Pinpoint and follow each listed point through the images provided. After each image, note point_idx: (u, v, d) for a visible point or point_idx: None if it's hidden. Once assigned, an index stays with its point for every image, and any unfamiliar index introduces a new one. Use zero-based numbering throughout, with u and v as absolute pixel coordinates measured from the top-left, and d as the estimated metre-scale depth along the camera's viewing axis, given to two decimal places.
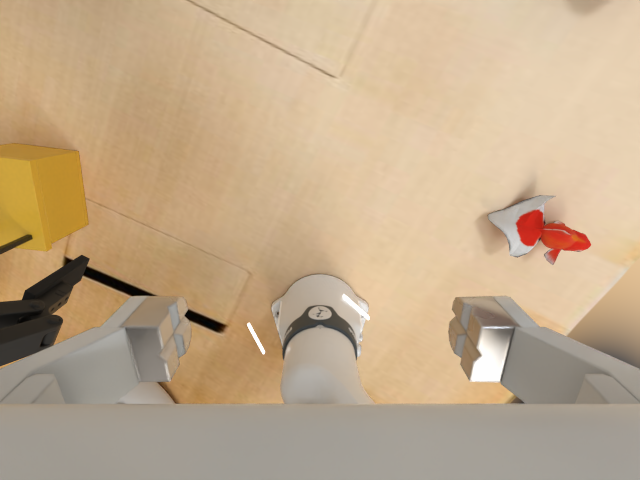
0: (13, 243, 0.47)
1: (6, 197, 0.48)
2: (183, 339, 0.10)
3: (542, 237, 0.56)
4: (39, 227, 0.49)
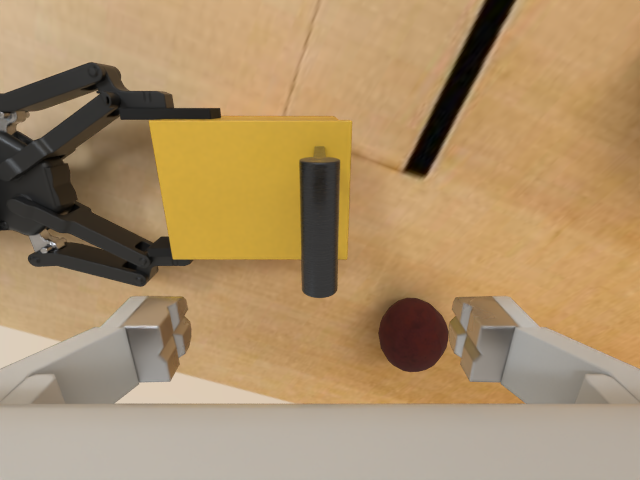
0: (315, 153, 0.20)
1: (238, 182, 0.24)
2: (183, 339, 0.10)
3: None
4: (294, 125, 0.23)
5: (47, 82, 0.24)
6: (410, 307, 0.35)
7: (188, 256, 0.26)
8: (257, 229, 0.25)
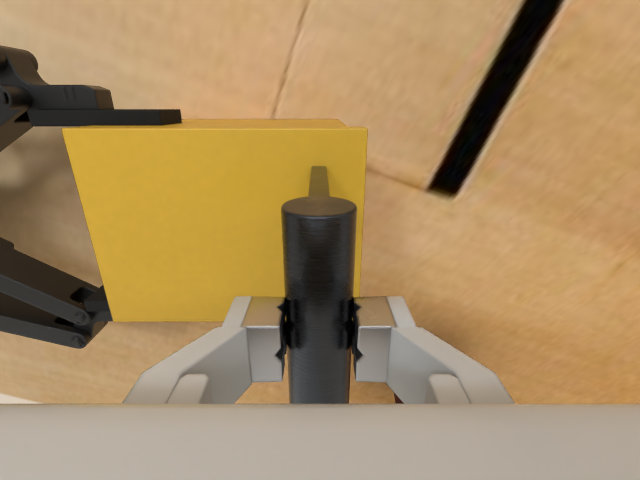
0: None
1: (201, 217, 0.16)
2: (285, 339, 0.10)
3: None
4: (281, 135, 0.15)
5: None
6: None
7: (134, 317, 0.19)
8: (230, 282, 0.18)
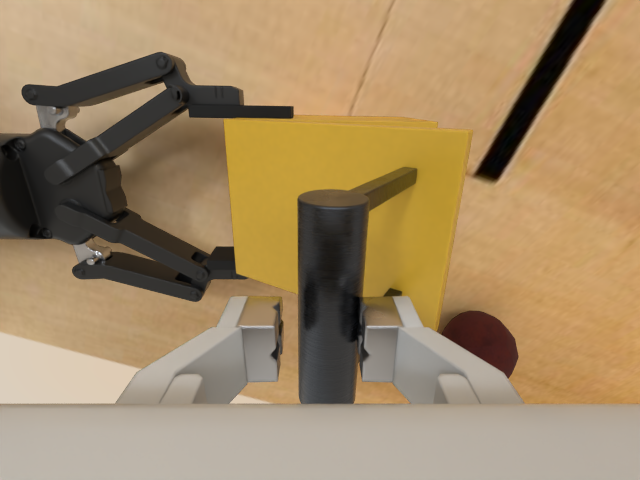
0: (377, 180, 0.13)
1: None
2: (281, 339, 0.10)
3: None
4: (377, 134, 0.15)
5: (108, 74, 0.21)
6: (479, 322, 0.32)
7: (249, 274, 0.23)
8: None
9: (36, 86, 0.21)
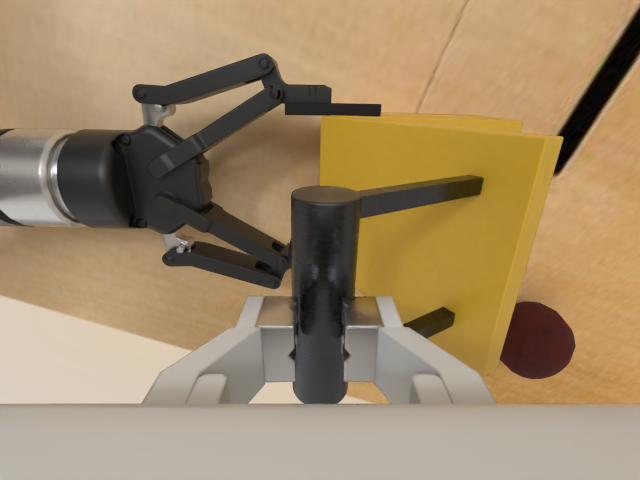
0: (413, 184, 0.12)
1: None
2: (297, 339, 0.10)
3: None
4: (446, 136, 0.14)
5: (213, 74, 0.22)
6: (537, 312, 0.33)
7: None
8: (381, 266, 0.19)
9: (146, 86, 0.23)
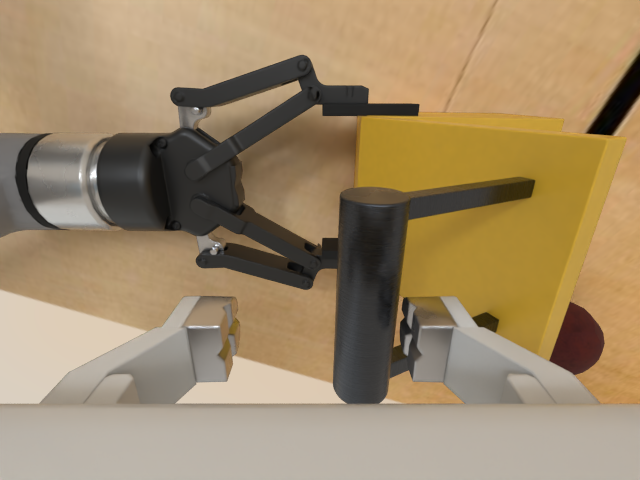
0: (461, 186, 0.12)
1: None
2: (235, 339, 0.10)
3: None
4: (495, 137, 0.14)
5: (251, 76, 0.22)
6: None
7: None
8: (420, 269, 0.19)
9: (184, 89, 0.23)
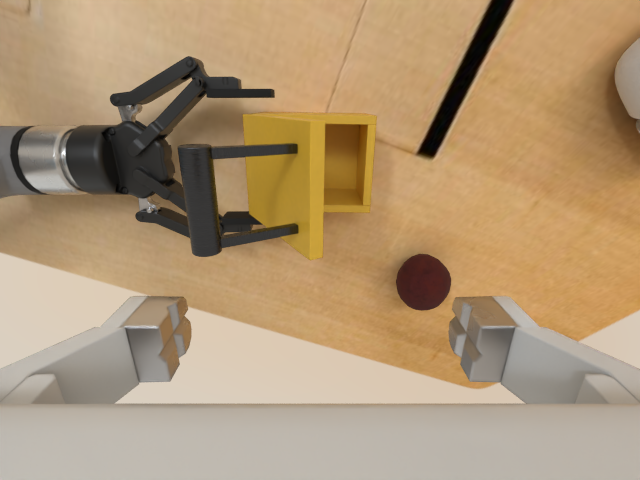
0: None
1: (266, 165, 0.30)
2: (183, 339, 0.10)
3: None
4: (284, 122, 0.25)
5: (159, 77, 0.34)
6: (422, 259, 0.45)
7: (252, 214, 0.36)
8: (273, 207, 0.30)
9: (118, 94, 0.34)
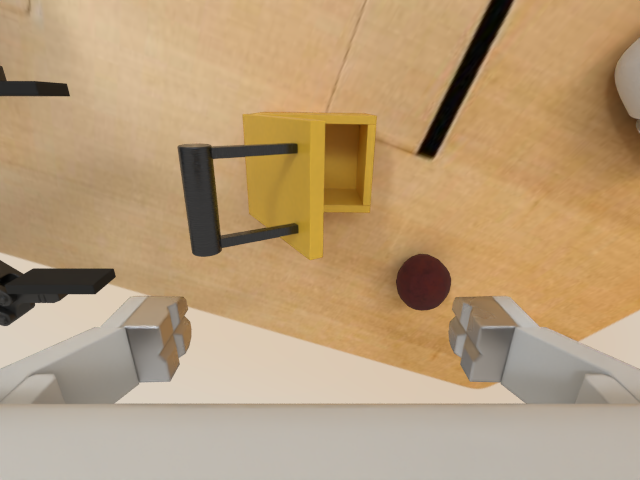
0: None
1: (266, 165, 0.30)
2: (183, 339, 0.10)
3: None
4: (284, 122, 0.25)
5: None
6: (422, 259, 0.45)
7: (253, 214, 0.36)
8: (273, 207, 0.30)
9: None
